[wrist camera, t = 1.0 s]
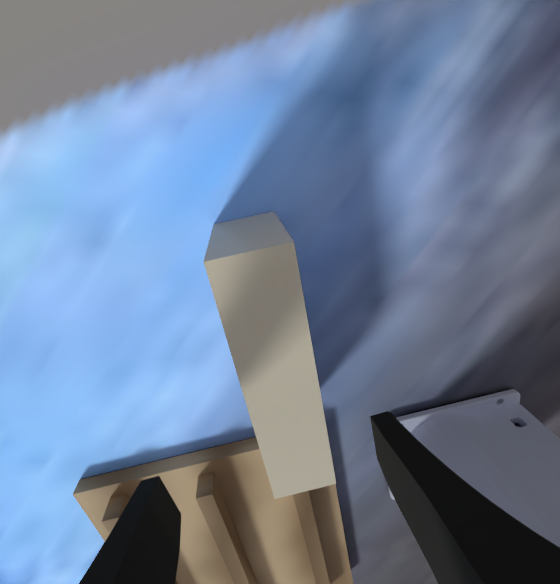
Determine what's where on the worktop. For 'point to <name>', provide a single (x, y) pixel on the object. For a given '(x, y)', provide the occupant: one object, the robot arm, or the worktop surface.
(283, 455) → the cream rectangular block
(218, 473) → the ridged tan board
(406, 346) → the worktop surface
